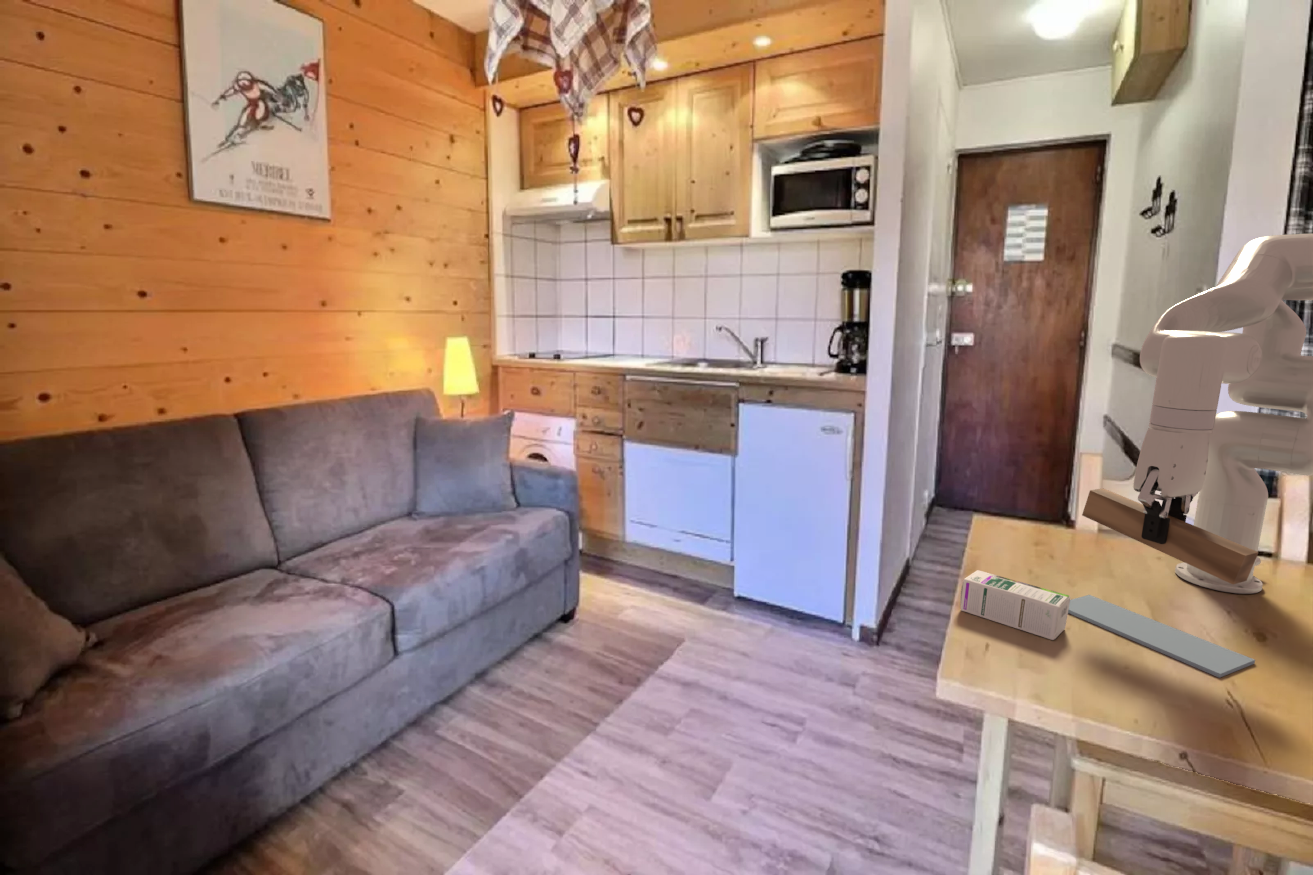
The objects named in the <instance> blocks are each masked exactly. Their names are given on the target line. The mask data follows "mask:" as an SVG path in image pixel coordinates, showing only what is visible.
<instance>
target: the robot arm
mask: <svg viewBox="0 0 1313 875" xmlns="http://www.w3.org/2000/svg"><path fill="white" fill-rule="evenodd" d="M1284 301H1313V233H1293V234H1277V235H1276V234H1275V235H1273V234H1272V235H1265V236H1261V237H1260V236H1259V237H1258V238H1255V239H1254V238H1253V239H1252V240H1249V241H1248V242H1247V243H1246V244H1243V246H1241V247H1240V249H1239V250H1238V251H1237V252H1236V254H1235V255H1234V257H1233V259H1232V260H1231V262H1230V263H1229V265H1228V267H1227V268H1226V270H1225V272H1224V274H1223V275H1222V276H1221V278H1220V279H1219V281H1218V283H1216V286H1215V287H1212V288H1210V289H1208V290H1205V291H1202V292H1200V293H1198V294H1195V295H1193V296H1191V297H1189V298H1187V299H1185V300H1182V301H1180V302H1178V303H1176V304H1175V305H1173V306H1171V307H1170V308H1168V309H1167V310H1165V311H1164V312H1163V313H1162V314H1161V315H1160V317H1159V318H1158V319H1157V320H1156V322H1155V323H1154V325H1153V326H1152V328H1151V329H1150V331H1149V332H1148V334H1147V335H1146V337H1145V340H1144V341H1143V343H1142V346H1141V350H1140V352H1139V364H1140V367H1141V369H1142V371H1143V372H1144V373H1145V374H1146V375H1149V376H1150V377H1153V378H1156V379H1155V385H1154V392H1153V398H1152V402H1151V403H1152V404H1151V409H1150V411H1151V412H1150V417H1149V424H1148V428H1147V429H1146V430H1147V431H1146V432H1145V435H1144V438H1143V441H1142V444H1141V448H1140V452H1139V455H1138V460H1137V464H1136V469H1135V472H1134V478H1133V483H1132V487H1133V490H1134V492H1136V493H1139V494H1138V496H1137V500H1138V501H1139V503H1140V504H1143V506H1144V511H1143V512H1144V513H1145V517H1144V523H1143V529H1142V535H1141V537H1142V538H1143V539H1146V540H1149V541H1152V542H1156V543H1159V544H1165V543H1166V541H1167V535H1168V529H1169V523H1170V518H1167V516H1168V515H1169V516H1172V517H1174V518H1176V519H1179V520H1181V521H1184V522H1186V521H1187V515H1188V514H1189V512H1190V510H1191V509H1190V507H1191V502H1192V501H1193V500H1194V498H1195V497H1196V496H1197V495H1198V497H1197V504H1196V508H1195V509H1196V510H1195V514H1194V519H1193V520H1194V521H1193V525H1194V526H1196V527H1199V528H1201V529H1203V530H1206V531H1208V532H1211V533H1213V534H1216V535H1218V536H1220V537H1223V538H1225V539H1228V540H1230V541H1233V542H1235V543H1237V544H1240V545H1242V546H1245V547H1247V548H1250V549H1252V550H1255V551H1257V552H1259V547H1260V540H1261V535H1262V530H1263V524H1264V520H1265V515H1266V509H1267V505H1268V500H1269V499H1268V498H1269V492H1268V488H1267V485H1266V484H1265V482H1264V481H1263V479H1262V478H1261V476H1260V475H1259V473H1258V472H1257V469H1259V470H1263V469H1264V470H1269V471H1275V472H1281V473H1289V474H1294V475H1301V476H1313V355H1302V349H1303V346H1304V344H1305V343H1304V342H1305V340H1306V337H1307V328H1306V325H1305V323H1304V321H1302V319H1301V318H1300V316H1299V315H1298V314H1297V313H1296V312H1295V311H1294V310H1293V309H1292V308H1291V307H1290V306H1289V305H1288V304H1287V303H1286V302H1284ZM1238 329H1242V332H1231V331H1235V330H1238ZM1229 331H1230V332H1229ZM1222 384H1223V385H1227V386H1228V387H1227V392H1228V395H1229V398H1230V399H1231V400H1232V401H1233V402H1235V403H1237V404H1240V405H1242V406H1247V407H1249V406H1250V407H1254V408H1255V407H1256V408H1262V409H1263V408H1265V409H1271V410H1273V409H1275V410H1282V411H1292V412H1293V411H1294V412H1300V413H1301V412H1302V413H1303V414H1305V415H1306V417H1305V418H1304V417H1298V416H1287V415H1278V414H1275V413H1274V414H1273V413H1263V412H1253V411H1244V410H1227V411H1221V412H1218V413H1217V410H1218V407H1219V400H1220V394H1221V389H1222ZM1156 491H1158V492H1160V493H1159V494H1158V493H1156ZM1158 500H1160V501H1161V502H1162V503H1161V502H1160V501H1158ZM1186 523H1187V522H1186ZM1261 561H1262V560H1261V559H1260V557H1259V556H1257V557H1256V560H1255V562H1254V564H1253V567H1252V569H1251V571H1250V574H1249V576H1248V578H1247V581H1244V582H1240V583H1237V584H1234V585H1233V584H1231V583H1228V582H1226V581H1224V580H1222V579H1220V578H1218V577H1215V576H1213V575H1211V574H1209V573H1207V572H1204V571H1202V570H1200V569H1198V568H1196V567H1194V566H1191V565H1189V564H1187V563H1185V562H1180V563H1177V564H1176V565H1175V570H1174V572H1175V574H1176V575H1177V576H1178V577H1180V578H1181V579H1183V580H1184V581H1186V582H1189V583H1190V584H1194V585H1196V586H1200V587H1203V588H1206V589H1210V590H1213V591H1219V592H1224V593H1230V594H1231V593H1232V594H1241V595H1242V594H1245V595H1249V594H1257V593H1259V592H1261V591H1262V590H1263V587H1264V586H1263V585H1264V584H1263V582H1262V581H1261V580H1260V578H1258V577H1256V576H1254V572H1255V567H1257V566H1259V565H1260V564H1261Z"/></svg>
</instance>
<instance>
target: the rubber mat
mask: <svg viewBox="0 0 1313 875" xmlns="http://www.w3.org/2000/svg"><path fill="white" fill-rule="evenodd" d="M1069 614H1070V615H1072V616H1074V617H1076V618H1078V619H1081V620H1082V621H1083V620H1084V621H1086V622H1089V623H1091V624H1093V625H1095V626H1097V627H1100V628H1102V629H1105V630H1106V631H1110V632H1111V633H1114V634H1117V635H1119V636H1121V637H1123V638H1125V639H1128V640H1130V641H1133V642H1135V643H1137V644H1139V645H1141V646H1143V647H1146V648H1149V649H1152V650H1153V651H1155V652H1158V653H1161V654H1163V655H1165V656H1166V657H1167V656H1168V657H1171V658H1172V659H1174V660H1177V661H1179V662H1182V663H1183V664H1186V665H1188V666H1191V667H1193V668H1194V669H1198V670H1200V671H1203V672H1205V673H1206V674H1209V675H1212V676H1214V677H1217V678H1218V679H1219V678H1222V677H1226V676H1227V675H1230V674H1232V673H1235V672H1237V671H1240V670H1242V669H1245V668H1247V667H1251V666H1253V665H1255V663H1256V659H1254V658H1252V657H1249V656H1247V655H1244V654H1242V653H1239V652H1236V651H1235V650H1232V649H1229V648H1226V647H1223V646H1222V645H1218V644H1216V643H1213V642H1212V641H1211V642H1210V641H1209V640H1206V639H1203V638H1201V637H1199V636H1196V635H1193V634H1190V633H1188V632H1185V631H1183V630H1180V629H1178V628H1175V627H1172V626H1170V625H1168V624H1165V623H1163V622H1160V621H1157V620H1154V619H1153V618H1150V617H1147V616H1144V615H1143V614H1140V613H1136V612H1135V611H1131V610H1130V609H1128V608H1125V607H1122V606H1119V605H1117V604H1115V603H1112V602H1109V601H1106V600H1104V599H1102V598H1098V597H1097V596H1094V595H1091V594H1087V595H1083V596H1080V597H1075V598H1071V599H1070V604H1069V610H1068V615H1069Z"/></svg>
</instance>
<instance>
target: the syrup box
mask: <svg viewBox="0 0 1313 875" xmlns="http://www.w3.org/2000/svg"><path fill="white" fill-rule="evenodd" d="M961 584H962V585H961V588H960V598H959V599H960V600H959V601H960V604H959V605H960V606H959V608H960V611H961V612H965V613H967V614H971V615H974V616H977V617H981V618H983V619H986V620H990V621H991V622H996V623H999V624H1002V625H1004V626H1007V627H1011V628H1015V629H1016V630H1021V631H1023V632H1027V633H1029V634H1032V635H1035V636H1038V637H1042V638H1045V639H1048V640H1051V641H1054V640H1056V639H1057V638H1058V636H1060V634H1062V632H1063V631H1064V630H1065V629H1066V625H1067V621H1068V620H1067V619H1068V615H1069V613H1068V610H1069V604H1070V600H1071V596H1070V595H1069V594H1065V593H1061V592H1058V591H1054V590H1050V589H1047V588H1045V587H1044V588H1043V587H1041V586H1040V587H1039V586H1037V585H1033V584H1028V583H1026V582H1022V581H1018V580H1015V579H1011V578H1008V577H1004V576H1000V575H998V574H993V573H991V572H990V573H989V572H988V571H987V572H986V571H983V570H979V569H977V570H975V571H974V572H972V573H971V574H969V575H968V576H967V577H965V578H963V580H962V583H961Z"/></svg>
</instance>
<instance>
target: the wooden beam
mask: <svg viewBox="0 0 1313 875" xmlns="http://www.w3.org/2000/svg"><path fill="white" fill-rule="evenodd" d="M1143 511H1144V506H1143V504H1142V503H1141V502H1138V501H1135V500H1133V499H1131V498H1128V497H1126V496H1123V495H1121V494H1118V493H1117V492H1113V491H1111V490H1108V489H1106V488H1096V489H1090V490H1089V492H1088V496H1087V498H1086V502H1085V505H1084V508H1083V510H1082V514H1081V516H1082V517H1085V518H1087V519H1089V520H1091V521H1094V522H1096V523H1097V524H1100V525H1101V526H1104V527H1107V528H1108V529H1111V530H1113V531H1116V532H1118V533H1119V534H1122V535H1124V536H1127V537H1128V538H1130V539H1133V540H1135V541H1137V542H1138V543H1139V542H1140V543H1141V544H1143V545H1146V546H1148V547H1150V548H1152V549H1155V550H1156V551H1159V552H1161V553H1163V554H1165V555H1168V556H1169V557H1172V558H1173V559H1177V560H1179V561H1180V562H1182V563H1184V562H1185V563H1187V564H1189V565H1191V566H1194V567H1196V568H1198V569H1200V570H1202V571H1204V572H1207V573H1209V574H1211V575H1213V576H1215V577H1218V578H1220V579H1222V580H1224V581H1226V582H1228V583H1231V584H1233V585H1234V584H1237V583H1240V582H1244V581H1247V578H1248V576H1249V574H1250V571H1251V569H1252V567H1253V564H1254V562H1255V560H1256V557H1258V554H1259V551H1258V552H1257V551H1255V550H1252V549H1250V548H1247V547H1245V546H1242V545H1240V544H1237V543H1235V542H1233V541H1230V540H1228V539H1225V538H1223V537H1220V536H1218V535H1216V534H1213V533H1211V532H1208V531H1206V530H1203V529H1201V528H1199V527H1196V526H1194V524H1191V523H1189V522H1184V521H1181V520H1179V519H1176V518H1174V517H1172V516H1169V515H1168V516H1167V518H1170V523H1169V529H1168V535H1167V541H1166V543H1165V544H1159V543H1156V542H1152V541H1149V540H1146V539H1143V538H1142V537H1141V535H1142V529H1143V523H1144V517H1145V513H1144V512H1143Z"/></svg>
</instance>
